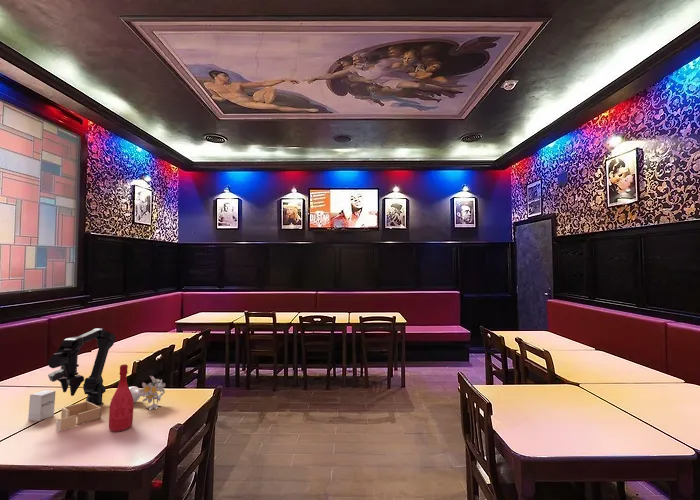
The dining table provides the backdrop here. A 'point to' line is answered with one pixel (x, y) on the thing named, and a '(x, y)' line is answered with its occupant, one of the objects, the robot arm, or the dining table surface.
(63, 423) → the flap
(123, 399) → the wine bottle
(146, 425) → the dining table surface
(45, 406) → the supplement box
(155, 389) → the flower vase
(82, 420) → the carton
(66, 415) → the flap
